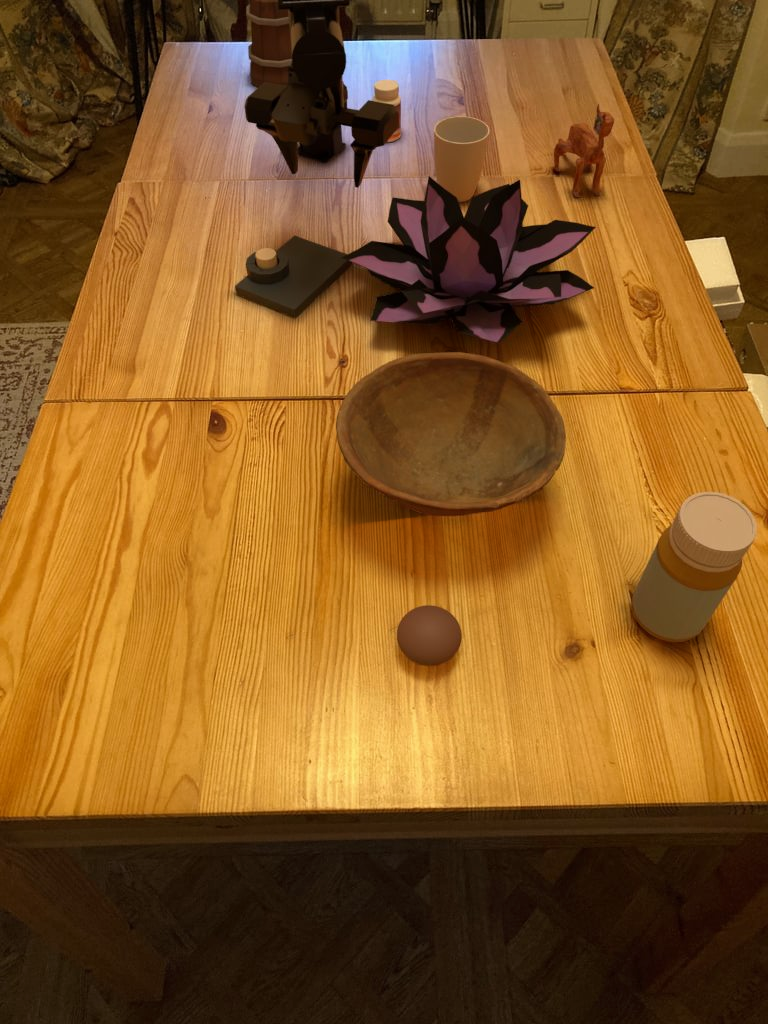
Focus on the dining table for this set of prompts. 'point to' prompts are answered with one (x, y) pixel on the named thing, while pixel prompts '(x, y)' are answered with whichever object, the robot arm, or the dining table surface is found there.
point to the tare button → (266, 258)
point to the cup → (460, 154)
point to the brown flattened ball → (429, 635)
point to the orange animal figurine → (586, 148)
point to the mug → (269, 42)
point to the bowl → (451, 433)
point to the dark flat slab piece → (293, 276)
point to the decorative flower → (470, 261)
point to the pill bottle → (389, 100)
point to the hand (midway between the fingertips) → (326, 179)
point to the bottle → (693, 566)
